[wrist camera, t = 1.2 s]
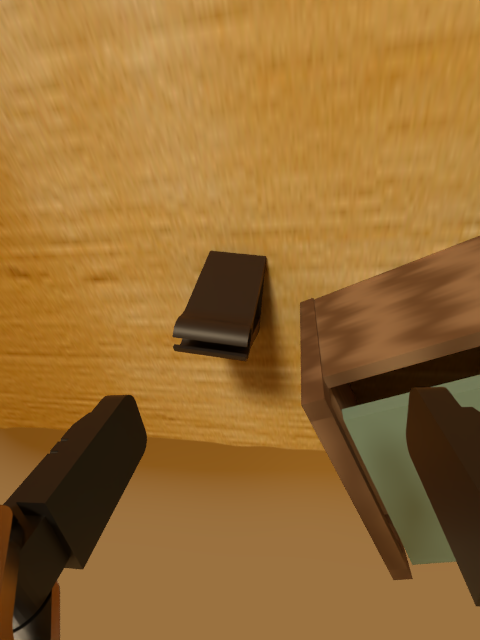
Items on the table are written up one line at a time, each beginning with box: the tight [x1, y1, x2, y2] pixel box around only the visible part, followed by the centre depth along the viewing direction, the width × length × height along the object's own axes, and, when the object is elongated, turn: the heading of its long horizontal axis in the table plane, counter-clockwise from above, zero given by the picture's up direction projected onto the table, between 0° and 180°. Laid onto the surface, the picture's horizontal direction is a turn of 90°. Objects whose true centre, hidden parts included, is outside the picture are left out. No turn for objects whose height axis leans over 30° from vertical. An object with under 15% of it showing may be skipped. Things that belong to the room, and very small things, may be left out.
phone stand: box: [173, 251, 266, 361], centre depth 30 cm, size 9×6×12 cm, turn 176°
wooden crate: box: [300, 236, 480, 580], centre depth 27 cm, size 20×20×16 cm
